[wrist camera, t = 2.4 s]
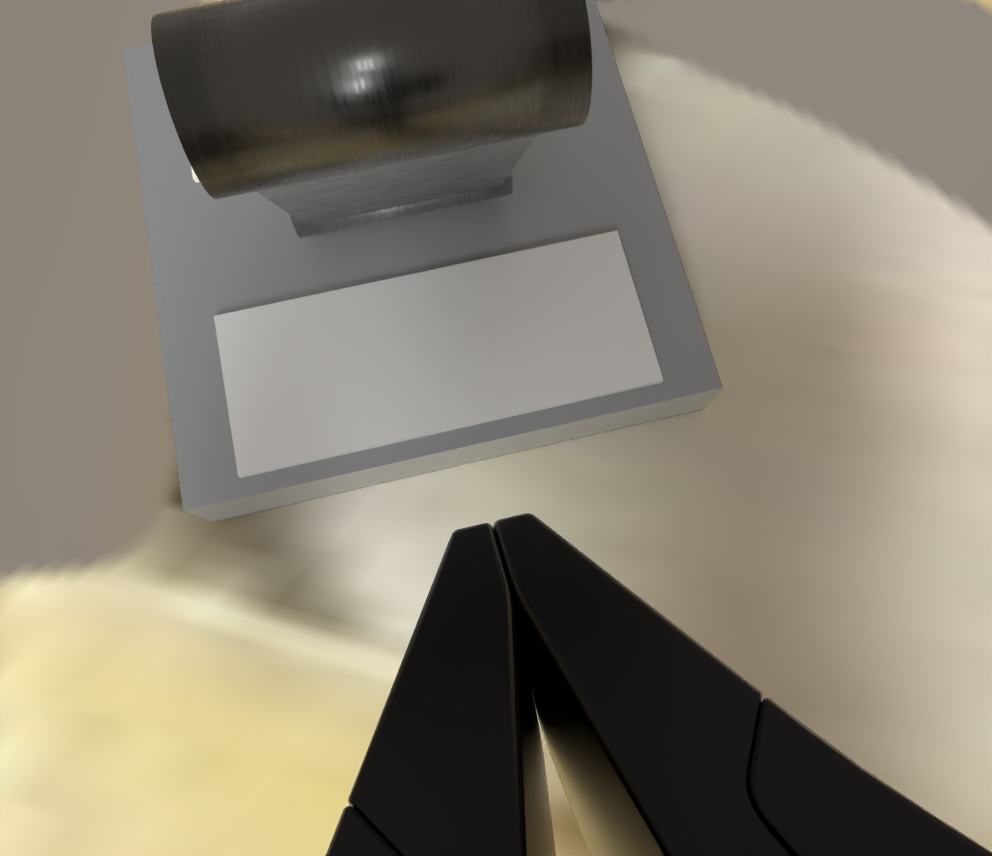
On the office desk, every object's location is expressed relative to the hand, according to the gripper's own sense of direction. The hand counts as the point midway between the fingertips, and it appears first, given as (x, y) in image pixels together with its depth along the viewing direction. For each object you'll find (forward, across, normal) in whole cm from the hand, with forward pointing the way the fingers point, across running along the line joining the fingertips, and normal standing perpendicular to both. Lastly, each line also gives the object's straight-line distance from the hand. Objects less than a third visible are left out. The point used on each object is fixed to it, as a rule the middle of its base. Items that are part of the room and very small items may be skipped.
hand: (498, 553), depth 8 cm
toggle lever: (+14, 0, -1) cm, 14 cm away
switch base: (+16, 0, +1) cm, 17 cm away
